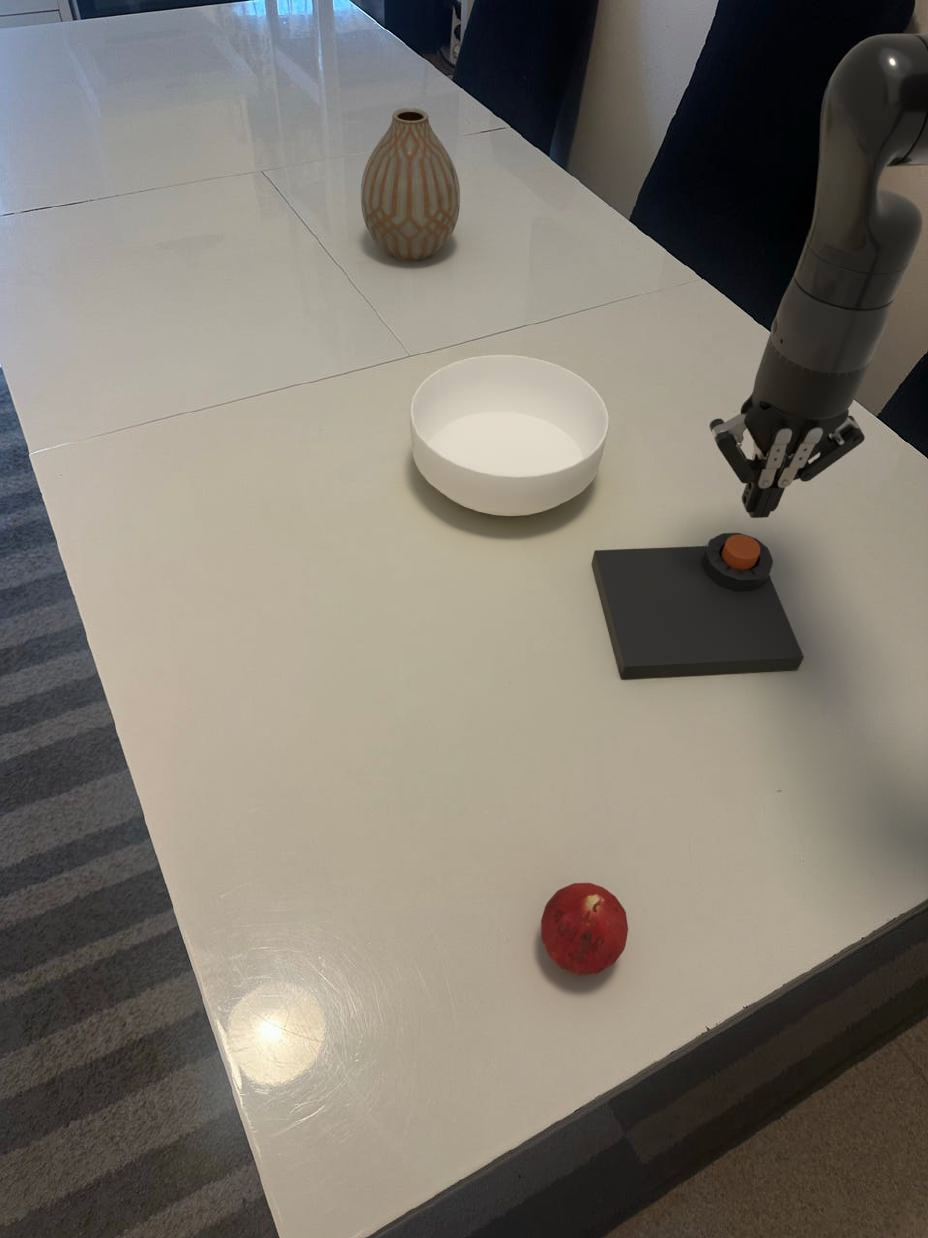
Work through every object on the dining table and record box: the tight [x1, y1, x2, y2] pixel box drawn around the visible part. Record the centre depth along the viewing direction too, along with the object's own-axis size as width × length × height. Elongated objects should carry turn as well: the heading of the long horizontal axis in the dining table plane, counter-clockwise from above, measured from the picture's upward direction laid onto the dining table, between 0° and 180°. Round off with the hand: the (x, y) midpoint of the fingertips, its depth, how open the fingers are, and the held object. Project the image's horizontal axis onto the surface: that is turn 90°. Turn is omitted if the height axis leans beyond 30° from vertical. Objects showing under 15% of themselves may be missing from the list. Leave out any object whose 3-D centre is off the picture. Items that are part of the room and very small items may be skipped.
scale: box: [591, 532, 805, 680], centre depth 84 cm, size 16×14×4 cm
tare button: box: [722, 534, 760, 570], centre depth 85 cm, size 3×3×2 cm
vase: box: [360, 107, 461, 262], centre depth 120 cm, size 13×13×18 cm
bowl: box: [409, 354, 610, 517], centre depth 93 cm, size 20×20×8 cm
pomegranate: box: [540, 882, 629, 976], centre depth 61 cm, size 6×6×8 cm
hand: (756, 511), depth 81 cm, fingers closed
